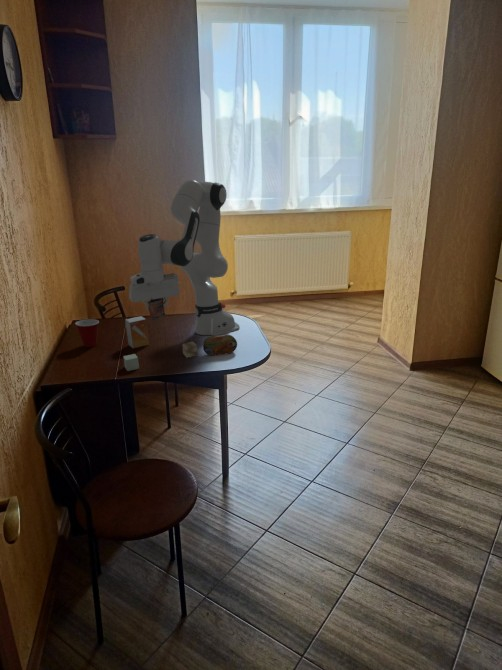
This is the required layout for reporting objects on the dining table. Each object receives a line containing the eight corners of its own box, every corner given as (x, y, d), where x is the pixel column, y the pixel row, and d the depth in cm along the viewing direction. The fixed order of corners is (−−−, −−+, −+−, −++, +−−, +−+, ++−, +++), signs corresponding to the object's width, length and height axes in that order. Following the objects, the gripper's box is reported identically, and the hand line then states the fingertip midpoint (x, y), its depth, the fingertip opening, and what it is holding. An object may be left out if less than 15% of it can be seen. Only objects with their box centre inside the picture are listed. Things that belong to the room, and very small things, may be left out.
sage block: (136, 364, 200) (135, 353, 198) (139, 368, 196) (137, 357, 194) (124, 367, 198) (123, 356, 196) (127, 371, 194) (125, 360, 192)
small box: (133, 349, 217) (129, 322, 213) (128, 345, 222) (124, 319, 218) (149, 344, 221) (146, 318, 217) (144, 341, 226) (141, 315, 222)
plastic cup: (107, 344, 225) (103, 320, 221) (86, 351, 218) (82, 326, 213) (95, 339, 232) (91, 316, 228) (75, 345, 225) (70, 322, 220)
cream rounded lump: (193, 351, 211) (192, 341, 209) (197, 355, 206) (196, 345, 205) (183, 354, 209) (182, 343, 207) (186, 358, 204) (185, 347, 203)
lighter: (154, 320, 189) (151, 297, 186) (148, 319, 191) (145, 296, 188) (167, 315, 196) (164, 292, 192) (161, 314, 197) (158, 291, 194)
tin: (204, 356, 204) (202, 338, 202) (203, 354, 207) (201, 336, 204) (237, 352, 207) (236, 335, 204) (236, 350, 210) (235, 332, 207)
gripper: (175, 271, 194) (178, 303, 199) (126, 278, 186) (130, 311, 191) (180, 273, 189) (183, 306, 194) (129, 281, 181) (134, 315, 185)
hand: (156, 309), depth 192 cm, fingers closed on lighter, 5 cm apart
